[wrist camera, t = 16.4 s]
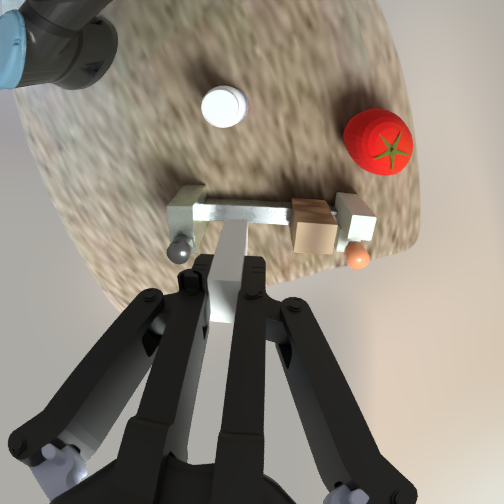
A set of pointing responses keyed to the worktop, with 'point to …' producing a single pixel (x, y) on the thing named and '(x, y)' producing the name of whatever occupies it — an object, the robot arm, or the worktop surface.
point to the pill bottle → (224, 106)
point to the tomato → (378, 141)
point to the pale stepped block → (352, 220)
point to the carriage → (312, 226)
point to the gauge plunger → (356, 255)
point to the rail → (215, 217)
